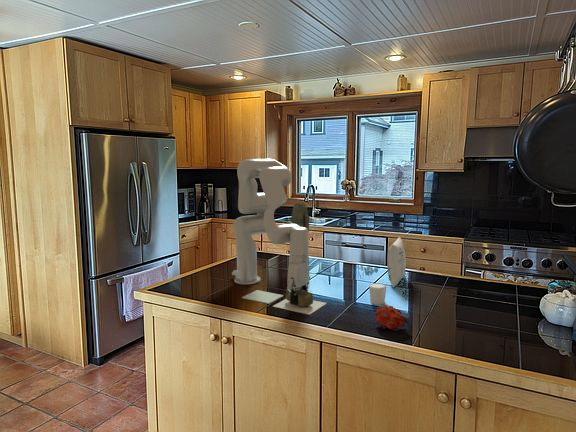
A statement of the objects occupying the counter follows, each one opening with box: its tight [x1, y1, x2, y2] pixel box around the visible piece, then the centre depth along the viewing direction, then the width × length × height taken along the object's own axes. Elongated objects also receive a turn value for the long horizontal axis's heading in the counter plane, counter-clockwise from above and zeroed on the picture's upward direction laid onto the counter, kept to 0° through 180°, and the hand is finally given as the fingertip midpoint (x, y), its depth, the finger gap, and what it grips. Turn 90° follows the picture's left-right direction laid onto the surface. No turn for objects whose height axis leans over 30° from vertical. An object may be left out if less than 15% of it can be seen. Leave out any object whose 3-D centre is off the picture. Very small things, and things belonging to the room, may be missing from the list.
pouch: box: [386, 236, 407, 289], centre depth 194 cm, size 8×19×20 cm, turn 152°
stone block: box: [285, 287, 314, 306], centre depth 167 cm, size 6×12×5 cm, turn 41°
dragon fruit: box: [374, 304, 409, 332], centre depth 143 cm, size 8×8×12 cm
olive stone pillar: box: [290, 202, 310, 265], centre depth 216 cm, size 9×12×35 cm
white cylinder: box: [368, 282, 387, 305], centre depth 168 cm, size 7×7×7 cm
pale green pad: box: [241, 289, 284, 305], centre depth 177 cm, size 14×11×1 cm
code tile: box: [272, 298, 327, 316], centre depth 167 cm, size 17×14×1 cm
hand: (299, 300), depth 167 cm, fingers closed on stone block, 7 cm apart
